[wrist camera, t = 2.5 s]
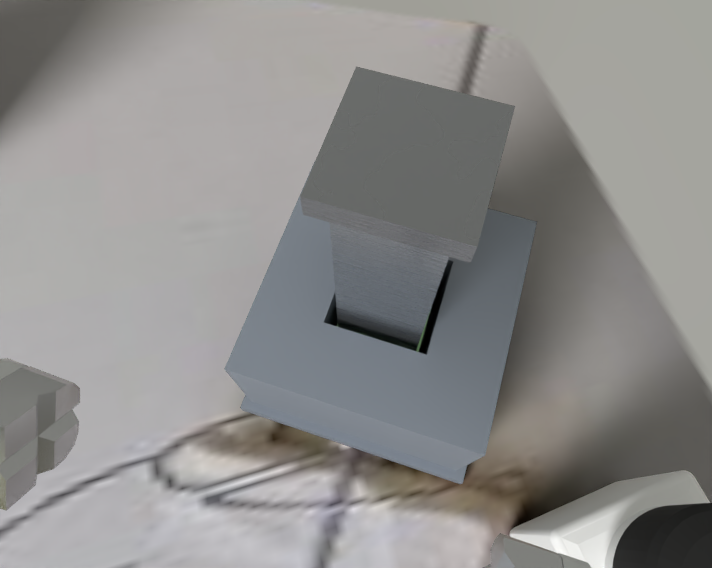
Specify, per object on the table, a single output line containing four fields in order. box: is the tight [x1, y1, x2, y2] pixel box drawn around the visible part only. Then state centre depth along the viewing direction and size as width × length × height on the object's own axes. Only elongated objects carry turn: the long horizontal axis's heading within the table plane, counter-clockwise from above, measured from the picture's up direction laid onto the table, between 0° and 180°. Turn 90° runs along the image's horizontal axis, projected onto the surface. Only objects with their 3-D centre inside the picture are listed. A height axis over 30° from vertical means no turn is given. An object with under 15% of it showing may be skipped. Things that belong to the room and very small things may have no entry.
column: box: [300, 67, 515, 352], centre depth 24 cm, size 5×5×18 cm
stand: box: [225, 162, 537, 484], centre depth 29 cm, size 13×13×9 cm
